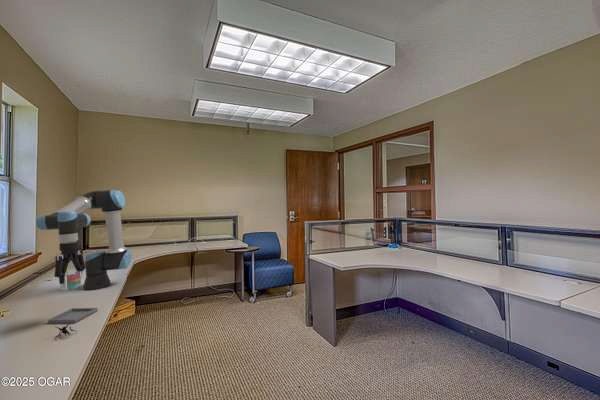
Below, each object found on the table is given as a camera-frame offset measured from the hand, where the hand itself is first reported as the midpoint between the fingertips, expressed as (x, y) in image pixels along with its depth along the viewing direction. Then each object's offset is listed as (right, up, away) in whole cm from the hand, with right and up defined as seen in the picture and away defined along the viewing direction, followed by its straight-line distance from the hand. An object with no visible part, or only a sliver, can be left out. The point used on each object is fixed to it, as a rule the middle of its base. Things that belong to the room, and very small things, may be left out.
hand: (71, 286), depth 147 cm
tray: (+1, -15, +1) cm, 15 cm away
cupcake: (0, -1, 0) cm, 1 cm away
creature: (+13, -16, -20) cm, 28 cm away
